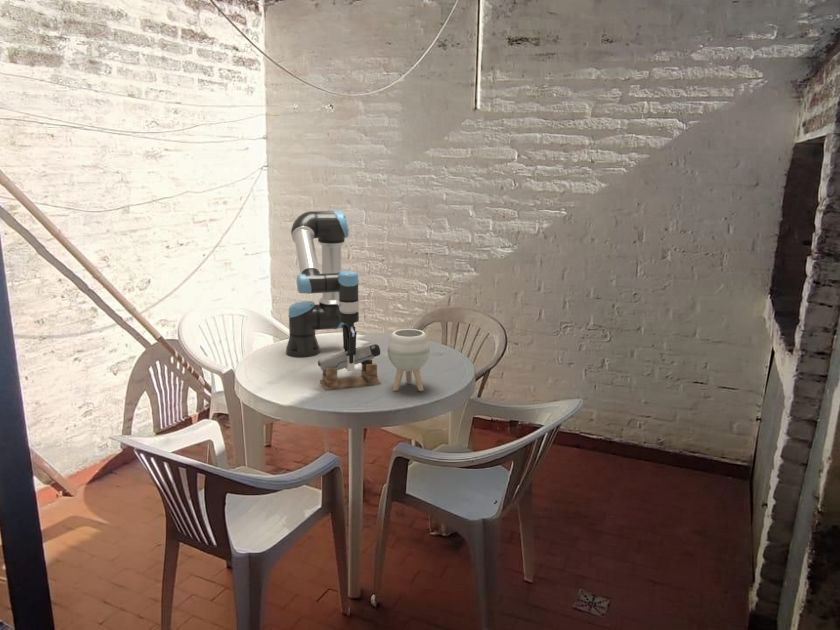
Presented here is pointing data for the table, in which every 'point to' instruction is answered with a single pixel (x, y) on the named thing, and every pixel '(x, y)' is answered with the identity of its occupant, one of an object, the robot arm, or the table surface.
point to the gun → (340, 359)
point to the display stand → (350, 378)
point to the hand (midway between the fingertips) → (349, 369)
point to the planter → (408, 355)
